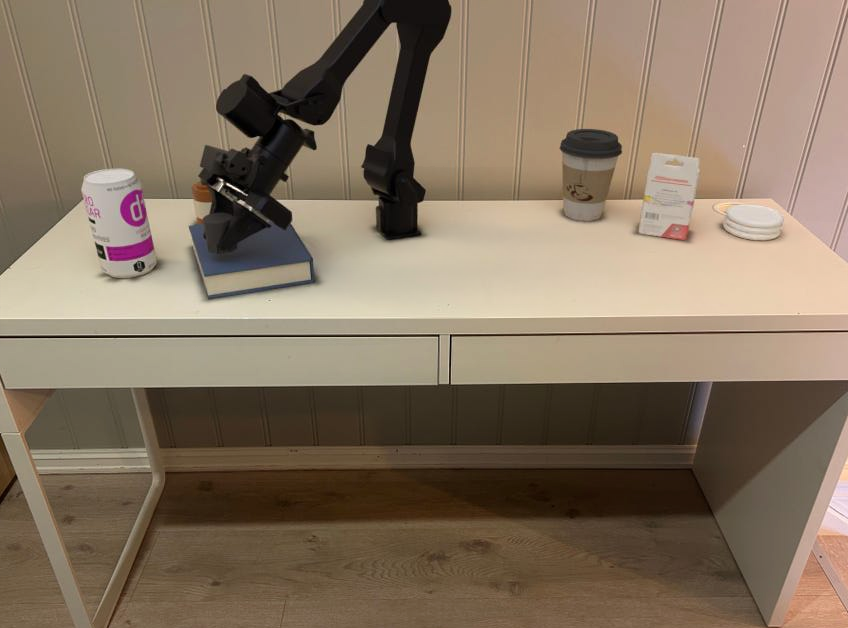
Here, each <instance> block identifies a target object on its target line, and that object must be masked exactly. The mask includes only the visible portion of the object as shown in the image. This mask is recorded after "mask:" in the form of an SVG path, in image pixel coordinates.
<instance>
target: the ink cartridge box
mask: <svg viewBox="0 0 848 628" xmlns="http://www.w3.org/2000/svg"><path fill="white" fill-rule="evenodd" d="M650 158H651V159H650V163H649V168H648V169H647V173H646V181H645V187H644V194H643V199H642V206H641V212H640V217H639V218H640V219H639V224H638V230H637V231H638V234H640V235H647V236H653V237H654V236H655V237H662V238H666V239H673V240H679V241H686V240H687V236H688V233H689V230H690V226H691V220H692V216H693V210H694V205H695V199H696V194H697V188H698V183H699V177H700V173H701V172H700V171H701V169H700V167H699V166H700V163H701V162H700V158H699V157H692V156H687V155H678V154H669V153H660V152H652V154H651V156H650ZM674 161H676V162H677V163H680V164H682V165H681V166H679V165H670V164H667V162H674Z"/></svg>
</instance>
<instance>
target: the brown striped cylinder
mask: <svg viewBox="0 0 848 628" xmlns="http://www.w3.org/2000/svg"><path fill="white" fill-rule="evenodd" d="M199 179H200V181H197V182H196V183H194V184H192V185H191V192H192V200H193V205H194V206H193V207H194V211H195V216H196V222H197V225H199V224H204V223H203V217H205V216H206V215H209V213H210V208H211V203H212V199H211V196H210V192H209V190H208V189H207V185H208V186H210V187H212V186H211V185H209V184H208V183H206V182H205V181H203V180H202V179H201V178H199Z"/></svg>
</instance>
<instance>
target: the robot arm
mask: <svg viewBox="0 0 848 628" xmlns="http://www.w3.org/2000/svg"><path fill="white" fill-rule="evenodd" d="M452 11H453V10H452V5H451V4H450V1H449V0H363V1H362V5H361V6H360V7H359V9H358V10H357V11H356V12H355V14H354V15H353V16H352V18H351V19H350V20H349V21H348V23H347V24H346V25H345V26H344V28H343V29H342V30H341V31H340V33H339V34H338V35H337V37H335V38H334V40H333V41H332V43H331V44H330V45H329V46H328V48H326V50H325V51H324V53H323V54H322V55H321V57H319V58H318V60H316V61H315V62H314V63H313V64H310V65H309V66H307V67H304V68H303V69H301V70H300V71H299V72H297V73H296V74H295V75H294V76H293V77H292V78H291V79H289V80H288V81H287V82H286V83H285V84H284V86H283V87H282V88H280V89H277V90H274V91H271V92H268V91H267V90H266V89H264V87H263V86H261V85H260V83H259V81H258V80H257V79H256V78H254V77H253V75H249V74H247V73H243V74H242V76H241V77H240V78H239V79H238V80H236V81H234V82H232V83H230V84H229V85H228V86H227V87H226V88H224V89H222V91H221V92H220V93H219V96H218V98H217V100H216V103H215V110H216V112H217V114H219V116H221V117H222V118H224V119H225V120H226V121H227V122H228V123H230V124H231V125H232V126H233V127H235V128H236V129H237V130H238V131H239V132H241V134H243V135H244V136H246V138H249V139H255V138H257V137H258V139H257V140H256V141H255V143H254V144H253V146H252V147H251V149H250V148H248V147H247V146H245V147H243V148H242V149H241V150H236V149H235V148H230V149H229V150H225V149H222V148H218V147H215V146H212V145H209V144H204V148H203V151H202V155H201V159H200V163H199V167H200V168H202V169H201V171H200V173H199V174H198V176H197V177H198V178H199V179H200V178H201V179H202V180H203V181H205V182H206V183H208V184H209V185H211V186H212V187H210V186H208V185H207V189H208V190H209V192H210V196H211V199H212V203H211V208H210V213H209V214H212V213H228V214H231V215H232V216H233V217H232V219H231V221H230V223H229V225H228V227H227V229H226V230H225V232H224V234H223V236H222V238H221V240H220V242H219V245H218V248H219V249H221V250H222V251H225V250H227V249H228V248H230V247H232V246H234V245H235V244H237V243H239V242H240V241H242V240H244V239H246V238H247V237H249V236H251V235H253V234H255V233H257V232H259V231H261V230H263V229H265V228H267V227H268V228H270V227H271V225H270V224H269V223H268V222H269V221H270V220H271V221H272V222H274V224H275V225H276V226H278V227H280V228H282V229H283V230H285V231H286V230H287V228H288V227H289V225H290V224H291V225H292V222H293V211H291V210H290V209H289V208H288V207H286V206H285V205H284V204H282V202H279V201H278V200H277V199H276V198H274V196H272V193H273V191H274V190H275V189H276V188H277V187H276V186H277V185H278V184H279V183H280V181H282V182H284V183H286V182H287V181H288V179H289V177H290V176H289V175H287V174H286V172H287V170H288V169H289V167H290V166H291V164H292V162H293V161H294V160H295V158H296V156H297V155H298V154H299V152H300V150H301V149H302V147H305V148H306V149H307V148H308V149H309V150H311V151H317V149H318V146H317V141H316V139H315V134H316V133H315V131H314V130H311V129H309V128H302V126H300V125H299V124H298V123H297V122H296V121H300V122H303V123H305V124H307V125H311V126H313V127H315V126H323V125H325V124H326V123H327V122H328V121H330V119H331V118H332V117H333V115H334V113H335V110H336V109H337V108H338V105H339V103H340V101H341V99H342V94H343V88H344V85H345V84H346V82H347V80H348V79H349V78H350V76H351V75H352V74H353V72H354V71H355V70H356V69H357V68H358V66H359V65H360V63H361V62H362V61H363V59H364V58H365V57H366V56H367V54H368V53H369V52H370V50H371V49H372V48H373V47H374V46H375V45H376V43H377V42H378V40H379V39H380V38H381V37H382V36H383V34H384V33H385V31H386V30H387V29H388V28H389V27H390V25H391V24H396V31H397V35H398V39H399V44H400V48H399V52H398V57H397V63H396V66H395V73H394V77H393V82H392V85H391V90H390V96H389V99H388V104H387V110H386V115H385V119H384V123H383V128H382V133H381V136H380V137H379V139H378V140H377V141H376V143H375V144H374V145H373V144H370V143H368V144H367V145H366V146H365V153H364V155H365V156H364V160H363V163H361V166H360V167H361V168H362V169H363V179H364V181H365V182H366V184H367V185H368V187H370V189H371V192H372V194H373V195H374V196H378V198H377V199H378V205H376V206H375V223H376V224H375V227H376V229H377V230H378V231H379V232H380V233H381V234H382V236H384V238H385V239H386V240H393V239H402V238H408V237H415V236H420V235H422V231H421V229H419V228H418V227H419V225H418V224H419V222H418V221H419V220H418V216H419V215H418V213H419V212H418V211H419V210H418V209H419V208H418V204H419V203H423V202H424V199H425V195H426V192H427V189H426V188H425V187H424V186H422V184H421V183H419V182H418V180H416V178H415V177H414V176H415V175H414V174H415V163H416V162H415V158H414V153H413V150H412V139H413V135H414V134H413V133H414V131H415V125H416V121H417V116H418V111H419V107H420V103H421V99H422V95H423V90H424V85H425V82H426V76H427V72H428V69H429V68H428V67H429V63H430V59H431V55H432V54H433V52H434V51H435V50H436V48H437V47H438V46H439V45H440V43H441V42H442V41H443V39H444V37H445V35H446V32H447V30H448V26H449V24H450V21H451V18H452ZM279 114H283V115H286V116H289V117H290V118H286V119H284V118H283V117H282V116H281V115H279ZM295 120H296V121H295ZM239 201H242V202H243V203H244V204H243V203H240V202H239ZM203 238H204V239H206V235H205V231H204V235H203Z"/></svg>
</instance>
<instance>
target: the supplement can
mask: <svg viewBox="0 0 848 628" xmlns="http://www.w3.org/2000/svg"><path fill="white" fill-rule="evenodd" d="M80 189H81V194H82V199H83V203H84V206H85V210H86V213H87V217H88V222H89V225H90V229H91V233H92V237H93V241H94V245H95V249H96V253H97V257H98V261H99V265H100V269H101V271H102V272H103V273H105V274H107V275H108V276H110V277H113V278H115V279H132V278H137V277H140V276H142V275H146V274H148V273H150V272H151V271H152V270H153V269H154V267H155V266H156V265H157V264H158V259H157V254H156V250H155V246H154V245H155V244H154V241H153V235H152V230H151V226H150V221H149V217H148V212H147V207H146V201H145V198H144V197H145V196H144V193H143V192H144V191H143V187H142V183H141V180H140V179H139V178H138V177H137V176H136V175H135V172H134V171H133V170H130V169H127V168H105V169H99V170H95V171H92V172H89V173H87V174H85V175H84V176H83V182H82V185H81V188H80Z"/></svg>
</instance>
